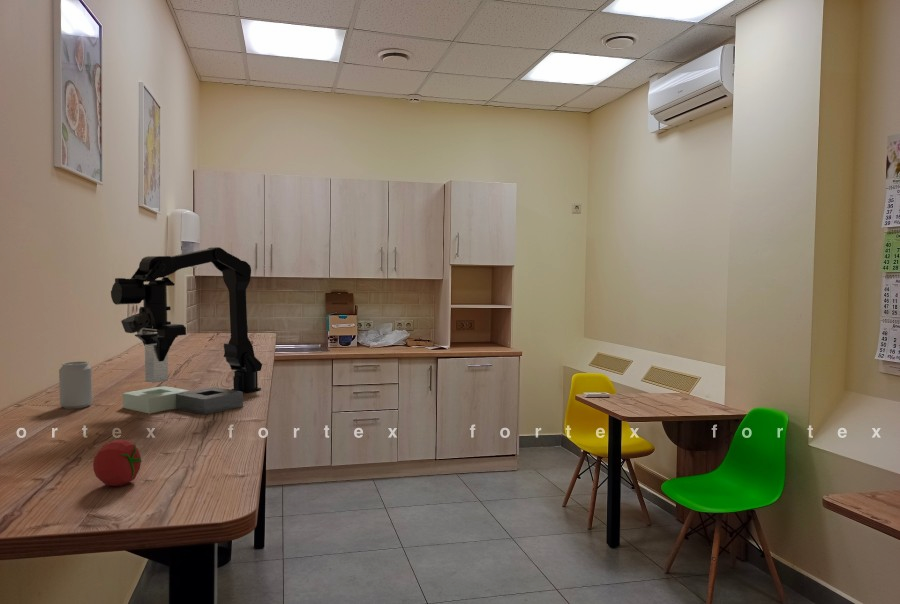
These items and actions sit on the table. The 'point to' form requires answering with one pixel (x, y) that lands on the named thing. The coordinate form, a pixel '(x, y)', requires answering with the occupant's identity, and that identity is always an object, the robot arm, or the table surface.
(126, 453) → the tomato
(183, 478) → the table surface
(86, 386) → the can
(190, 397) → the mount
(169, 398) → the dock
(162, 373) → the pin
